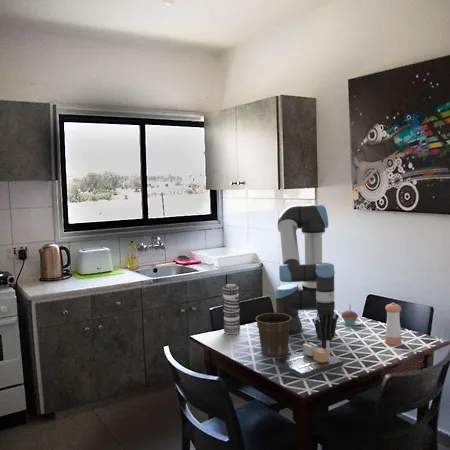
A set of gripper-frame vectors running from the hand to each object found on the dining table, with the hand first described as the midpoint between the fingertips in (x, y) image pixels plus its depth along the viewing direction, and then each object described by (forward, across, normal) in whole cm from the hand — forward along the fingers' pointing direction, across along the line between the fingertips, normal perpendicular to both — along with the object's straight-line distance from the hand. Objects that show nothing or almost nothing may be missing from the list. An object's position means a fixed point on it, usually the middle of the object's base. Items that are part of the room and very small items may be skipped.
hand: (326, 355), depth 204 cm
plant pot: (+4, -9, +24) cm, 26 cm away
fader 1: (+2, -2, +8) cm, 8 cm away
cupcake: (+4, +47, +33) cm, 57 cm away
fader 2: (+2, -3, 0) cm, 3 cm away
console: (+4, -6, +4) cm, 9 cm away
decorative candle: (+4, -10, +59) cm, 60 cm away
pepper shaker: (+4, +43, +1) cm, 43 cm away
